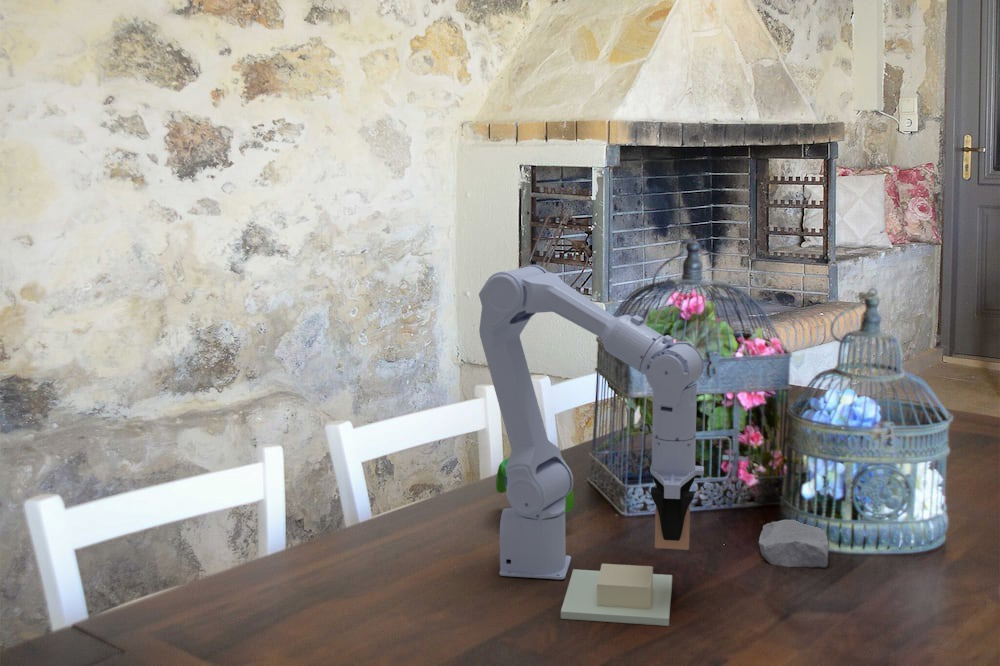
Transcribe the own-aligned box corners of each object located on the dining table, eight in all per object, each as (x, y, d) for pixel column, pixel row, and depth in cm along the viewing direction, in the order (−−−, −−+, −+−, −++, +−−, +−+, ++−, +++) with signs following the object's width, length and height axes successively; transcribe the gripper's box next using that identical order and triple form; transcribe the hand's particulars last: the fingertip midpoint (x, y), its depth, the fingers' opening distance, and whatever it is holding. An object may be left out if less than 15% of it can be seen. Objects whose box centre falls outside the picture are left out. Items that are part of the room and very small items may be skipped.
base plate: (560, 618, 142) (560, 589, 141) (573, 575, 156) (573, 549, 155) (668, 625, 140) (669, 596, 139) (672, 581, 153) (672, 555, 152)
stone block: (764, 578, 159) (834, 569, 156) (758, 546, 158) (828, 537, 156) (761, 550, 170) (826, 541, 168) (755, 521, 170) (821, 512, 167)
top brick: (654, 547, 145) (655, 512, 144) (656, 535, 149) (656, 500, 148) (689, 549, 144) (689, 513, 143) (689, 537, 148) (689, 502, 147)
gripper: (705, 452, 136) (702, 554, 139) (704, 421, 150) (702, 515, 153) (648, 450, 137) (646, 551, 140) (652, 420, 151) (651, 512, 154)
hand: (672, 532), depth 146 cm, fingers closed on top brick, 4 cm apart
